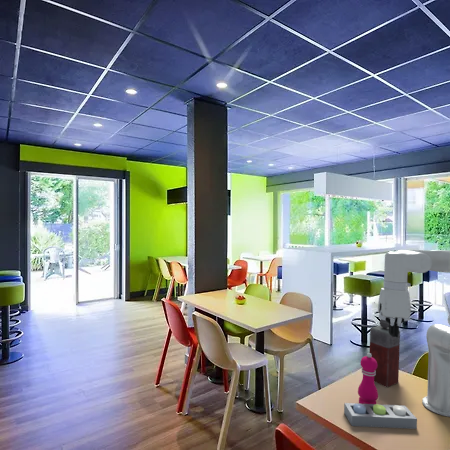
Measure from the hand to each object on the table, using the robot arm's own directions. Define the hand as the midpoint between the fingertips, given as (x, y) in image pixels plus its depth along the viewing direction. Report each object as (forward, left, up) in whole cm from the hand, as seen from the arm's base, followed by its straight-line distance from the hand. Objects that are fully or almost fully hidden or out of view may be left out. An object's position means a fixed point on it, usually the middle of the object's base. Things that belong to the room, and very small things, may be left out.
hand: (393, 335), depth 120 cm
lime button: (+6, +4, -28) cm, 29 cm away
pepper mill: (+6, -6, -29) cm, 31 cm away
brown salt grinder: (-10, -27, -29) cm, 41 cm away
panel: (+6, +4, -29) cm, 30 cm away
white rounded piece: (-1, +4, -29) cm, 29 cm away
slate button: (+13, +4, -28) cm, 32 cm away
